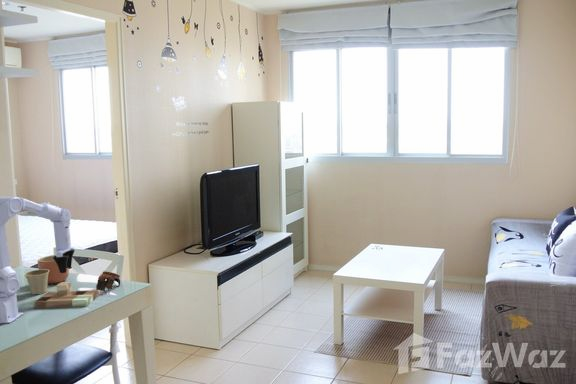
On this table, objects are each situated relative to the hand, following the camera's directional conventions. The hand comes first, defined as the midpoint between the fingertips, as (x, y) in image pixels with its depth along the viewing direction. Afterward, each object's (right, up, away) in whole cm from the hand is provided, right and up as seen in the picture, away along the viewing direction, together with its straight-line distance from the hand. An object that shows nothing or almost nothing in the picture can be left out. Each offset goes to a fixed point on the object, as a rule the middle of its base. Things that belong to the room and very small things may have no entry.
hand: (65, 270), depth 216 cm
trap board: (+5, -11, -9) cm, 15 cm away
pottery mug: (+15, -9, +6) cm, 19 cm away
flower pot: (-13, -10, +5) cm, 18 cm away
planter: (-13, -8, +20) cm, 25 cm away
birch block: (+2, -8, -6) cm, 11 cm away
